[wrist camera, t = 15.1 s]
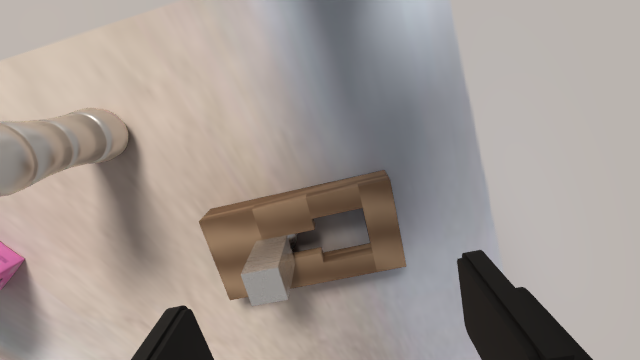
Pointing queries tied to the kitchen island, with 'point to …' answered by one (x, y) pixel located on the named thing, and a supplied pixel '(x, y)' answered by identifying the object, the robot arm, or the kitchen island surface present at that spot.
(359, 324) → the kitchen island surface
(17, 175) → the plastic bottle
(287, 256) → the steel peg
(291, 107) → the kitchen island surface
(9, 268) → the gum box
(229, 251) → the keyhole plate
